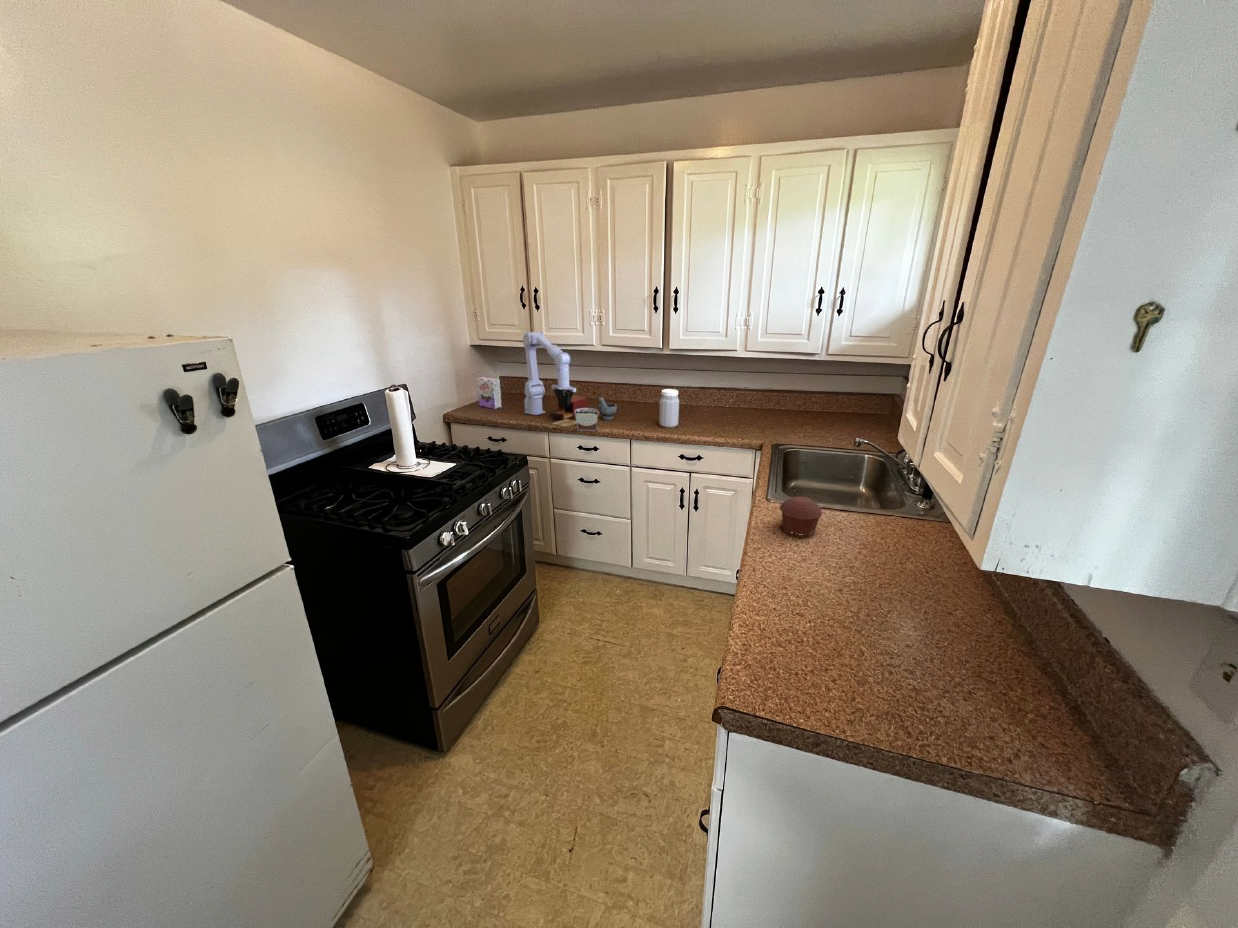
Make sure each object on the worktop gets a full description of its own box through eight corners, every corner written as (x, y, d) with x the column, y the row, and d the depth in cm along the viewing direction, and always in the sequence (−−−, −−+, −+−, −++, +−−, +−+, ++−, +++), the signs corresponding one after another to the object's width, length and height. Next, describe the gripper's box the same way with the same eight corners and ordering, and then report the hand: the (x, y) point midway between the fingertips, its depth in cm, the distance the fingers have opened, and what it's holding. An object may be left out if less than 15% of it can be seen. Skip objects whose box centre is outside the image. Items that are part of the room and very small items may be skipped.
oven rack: (548, 417, 253) (548, 412, 252) (564, 412, 263) (563, 407, 262) (561, 420, 249) (561, 415, 248) (576, 414, 259) (576, 409, 258)
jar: (675, 422, 249) (676, 388, 242) (680, 427, 240) (682, 392, 233) (656, 423, 247) (657, 388, 241) (661, 428, 238) (662, 393, 232)
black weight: (558, 407, 244) (558, 394, 242) (564, 405, 248) (563, 392, 245) (565, 408, 242) (564, 395, 240) (570, 407, 245) (570, 393, 243)
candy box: (478, 406, 281) (475, 378, 275) (486, 404, 285) (483, 376, 279) (494, 409, 273) (491, 380, 267) (502, 407, 278) (499, 379, 272)
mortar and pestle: (607, 414, 263) (607, 393, 259) (620, 417, 257) (620, 395, 253) (593, 418, 255) (592, 396, 251) (606, 422, 249) (605, 399, 245)
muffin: (815, 523, 146) (820, 493, 142) (821, 541, 135) (827, 510, 132) (775, 519, 148) (779, 490, 144) (778, 537, 138) (782, 505, 134)
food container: (601, 427, 241) (600, 407, 237) (599, 430, 235) (599, 411, 231) (576, 426, 242) (576, 407, 238) (574, 430, 236) (574, 410, 232)
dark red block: (558, 415, 261) (557, 399, 258) (571, 410, 271) (571, 395, 268) (574, 418, 256) (573, 401, 253) (587, 413, 265) (587, 397, 262)
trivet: (552, 424, 245) (552, 423, 245) (564, 419, 253) (564, 418, 253) (567, 427, 240) (567, 426, 240) (579, 422, 248) (579, 421, 248)
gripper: (547, 377, 240) (548, 404, 245) (569, 380, 233) (570, 407, 237) (556, 375, 246) (557, 401, 250) (578, 378, 238) (579, 405, 243)
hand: (564, 404), depth 244 cm, fingers closed on black weight, 4 cm apart
